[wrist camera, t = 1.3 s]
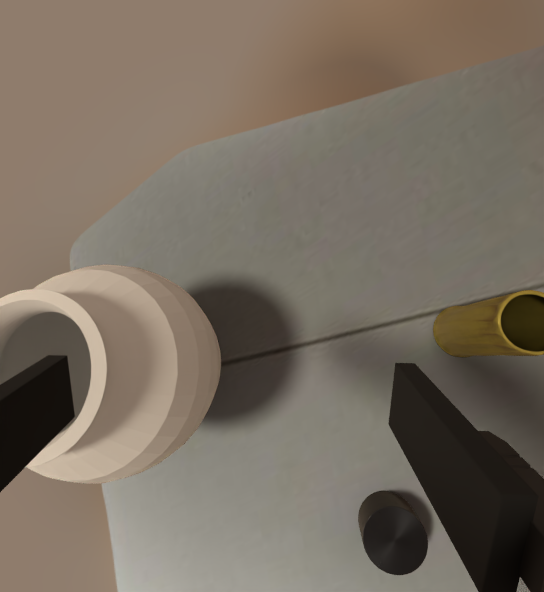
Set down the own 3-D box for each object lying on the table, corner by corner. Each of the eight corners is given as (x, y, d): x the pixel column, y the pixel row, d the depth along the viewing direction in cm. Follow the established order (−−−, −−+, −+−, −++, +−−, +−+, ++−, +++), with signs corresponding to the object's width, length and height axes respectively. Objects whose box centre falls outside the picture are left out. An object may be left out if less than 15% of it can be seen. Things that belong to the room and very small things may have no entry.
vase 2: (491, 354, 40) (585, 357, 26) (437, 359, 41) (500, 365, 27) (481, 303, 41) (565, 279, 27) (428, 309, 42) (484, 289, 28)
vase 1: (102, 322, 47) (-129, 293, 23) (221, 274, 46) (115, 188, 22) (139, 452, 44) (-87, 584, 19) (268, 404, 43) (204, 477, 18)
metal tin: (425, 543, 38) (437, 565, 34) (369, 558, 39) (375, 582, 35) (403, 484, 39) (413, 498, 35) (350, 499, 40) (354, 515, 36)
